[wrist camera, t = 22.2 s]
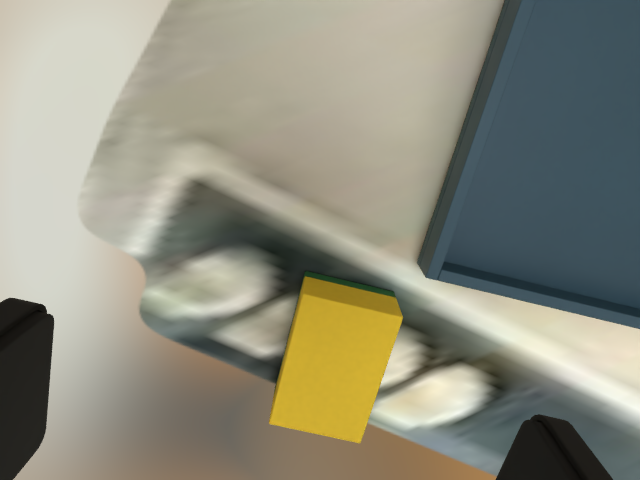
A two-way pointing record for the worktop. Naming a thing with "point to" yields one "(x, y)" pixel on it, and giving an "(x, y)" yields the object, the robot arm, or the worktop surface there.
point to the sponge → (335, 357)
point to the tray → (549, 164)
